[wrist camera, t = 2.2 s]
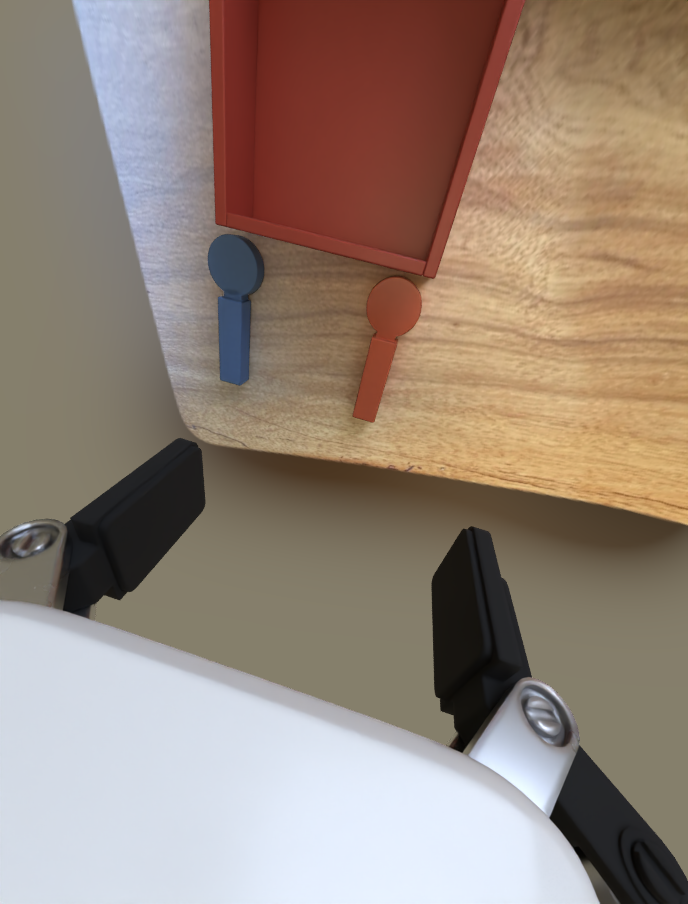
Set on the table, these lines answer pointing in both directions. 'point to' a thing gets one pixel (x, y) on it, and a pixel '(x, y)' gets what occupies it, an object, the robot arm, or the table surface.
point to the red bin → (352, 119)
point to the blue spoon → (235, 301)
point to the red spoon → (385, 337)
